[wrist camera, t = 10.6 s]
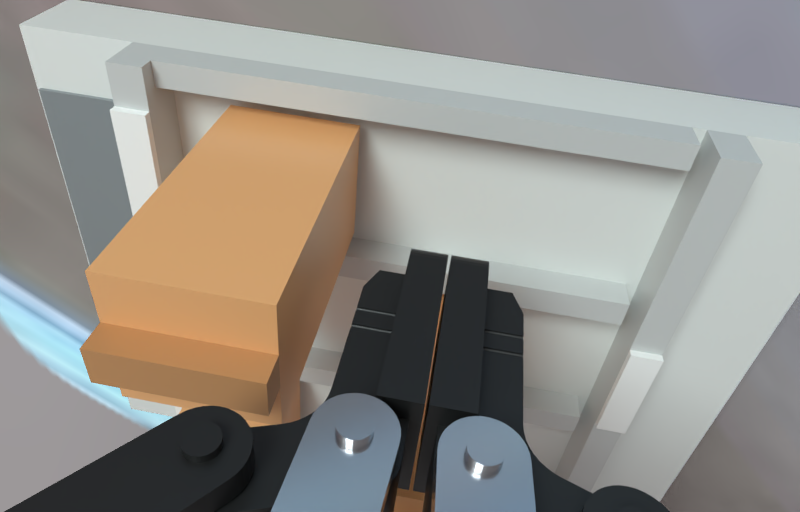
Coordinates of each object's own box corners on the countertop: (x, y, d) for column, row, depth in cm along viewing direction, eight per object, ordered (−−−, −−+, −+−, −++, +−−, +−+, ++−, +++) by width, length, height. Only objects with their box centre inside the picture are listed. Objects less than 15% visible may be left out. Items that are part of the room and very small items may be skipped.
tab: (360, 125, 14) (263, 333, 9) (354, 232, 16) (271, 455, 11) (230, 104, 14) (62, 296, 9) (240, 212, 16) (105, 423, 11)
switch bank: (850, 115, 14) (924, 194, 12) (645, 460, 23) (660, 549, 20) (69, -1, 16) (-24, 46, 13) (156, 367, 24) (111, 440, 22)
